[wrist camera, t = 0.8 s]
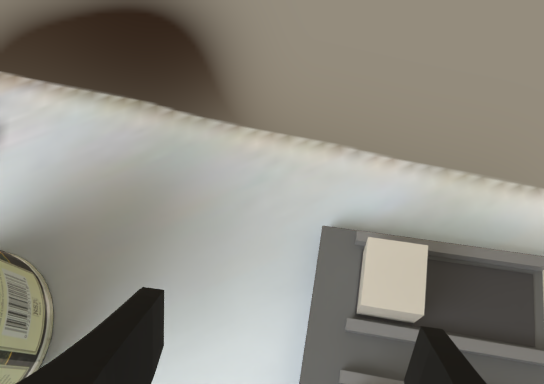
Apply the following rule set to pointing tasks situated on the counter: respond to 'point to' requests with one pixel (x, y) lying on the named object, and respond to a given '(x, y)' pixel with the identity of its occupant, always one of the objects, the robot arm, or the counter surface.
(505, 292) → the switch panel
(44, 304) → the coffee can
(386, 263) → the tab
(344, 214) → the counter surface
